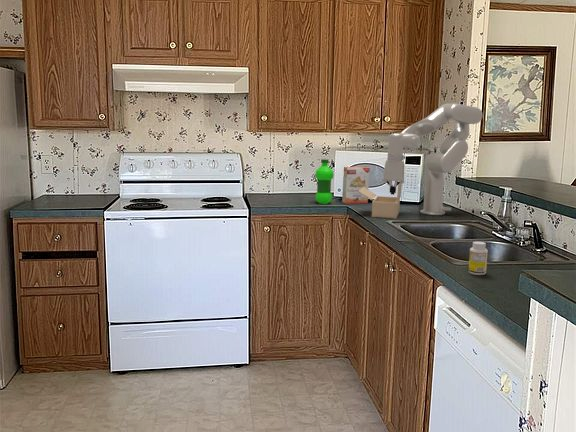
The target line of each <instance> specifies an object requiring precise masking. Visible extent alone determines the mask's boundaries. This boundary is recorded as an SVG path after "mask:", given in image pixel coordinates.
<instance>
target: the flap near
mask: <svg viewBox="0 0 576 432" xmlns="http://www.w3.org/2000/svg"><path fill="white" fill-rule="evenodd" d="M402 185H403V183H402V184H401V183H399V185H397V192H396V193H397V195H396V197H397V201H398V200H399V198H400V199H401V196H402V187H403V186H402Z"/></svg>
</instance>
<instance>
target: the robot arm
mask: <svg viewBox="0 0 576 432" xmlns="http://www.w3.org/2000/svg"><path fill="white" fill-rule="evenodd" d="M482 120H483V112H482V109H481V108H479V107H476V106H472V105H466V104H462V103H455V102H454V103H444V104H442V105H441V106H439V107H438V108H436V109H435V110H433V112H431V113H430V114H429V115H427V117H424V118H423V119H420V120H419V121H416V122H415V123H413V124H411V125H409V126H407V127H406V128H405V129H403V130H402V131H401V132H400V133H390V134H389V135H388V147H387V160H385V162H384V163H385V164H384V168H383V179H382V182H383V183H385V184H387V185H388V186H389V193H390V195H391V196H392V195H393V196H395V194H396V193H397V187H398V185H399V183H401V184H402V185H403V184H404V183H405V161H404V160H406V156H405V155H404V149H411V150H412V149H416V148H418V147H419V146H420V144H421V138H420V137H421V136H424V135H429V134H432V133H435V132H437V131H438V130H439V129H440V128H441V127H444V125H445V124H447V123H448V122H450V121H454V127H453V130H452V131H451V132H449V135H448V136H446V138H445V139H444V140H443V141H441V144H440V146H439V152H440V153H439V152H432V153H429V154H427V156H425V159H424V172H425V175H424V177H425V181H424V192H423V193H424V194H423V195H424V196H423V209H420V214H423V215H431V216H442V215H443V216H444V215H446V212H452V207H449V206H444V204H443V201H444V185H445V176H444V174H448V173H451V172H452V171H453V170H454V169H455V168H456V167H457V166H458V165H459V164H460V162H461V161H462V160H464V158H465V157H466V155H467V153H468V150H469V145H468V143H467V139H468V138H469V136H470V125H475V124H476V125H477V124H479V123H480V122H481V121H482ZM393 182H394V185H393ZM445 211H446V212H445Z"/></svg>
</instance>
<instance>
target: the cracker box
mask: <svg viewBox="0 0 576 432" xmlns="http://www.w3.org/2000/svg"><path fill="white" fill-rule="evenodd" d="M370 169H371V168H370V167H367V166H343V173H342V174H343V175H342V176H343V178H342V179H343V180H342V197H341V198H342V200H341V203H343V204H347V205H348V204H349V205H351V204H352V205H353V204H354V205H355V204H356V205H357V204H360V205H361V204H363V205H364V204H366V205H367V204H368V202H369V198H367V197H365V196H364V195H362V194H361V193H359V192H358V191H359V190H361V189H362V188H363V187H365V188H366V189H368V190H369V189H370V187H369V185H370Z"/></svg>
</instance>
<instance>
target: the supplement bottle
mask: <svg viewBox="0 0 576 432" xmlns="http://www.w3.org/2000/svg"><path fill="white" fill-rule="evenodd" d="M486 246H487V245H486V242H483V241H472V247H470V248H469V256H468V257H469V259H468V274H471V275H475V276H483V275H485V274H486V273H487V268H488V267H487V266H488V256H489V255H488V253H489V251H488V248H486Z"/></svg>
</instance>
